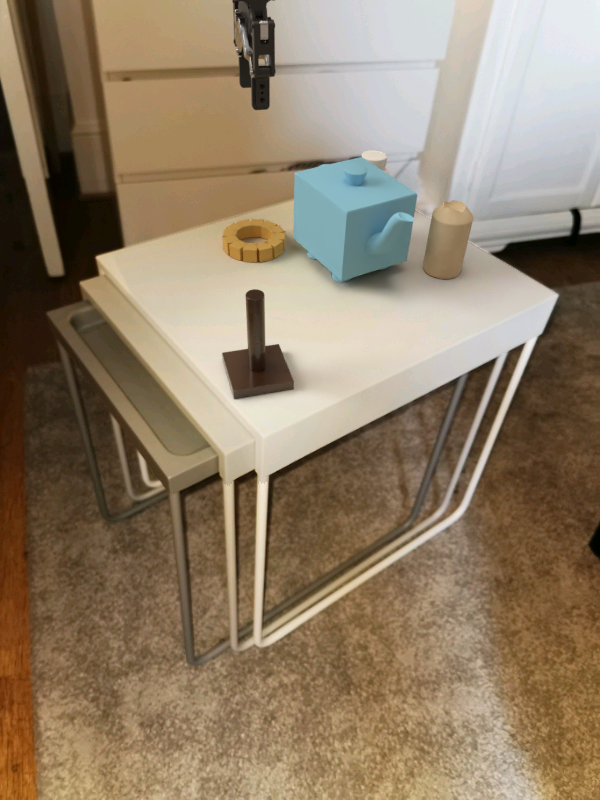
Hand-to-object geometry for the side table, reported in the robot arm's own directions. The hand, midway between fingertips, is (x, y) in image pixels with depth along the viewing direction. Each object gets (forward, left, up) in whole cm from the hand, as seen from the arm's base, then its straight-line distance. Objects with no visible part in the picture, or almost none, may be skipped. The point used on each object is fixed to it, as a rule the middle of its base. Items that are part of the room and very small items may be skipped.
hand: (254, 97), depth 84 cm
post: (-7, -31, -20) cm, 38 cm away
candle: (+24, -15, -21) cm, 35 cm away
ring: (-1, -3, -20) cm, 20 cm away
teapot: (+12, -11, -21) cm, 26 cm away
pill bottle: (+20, +5, -21) cm, 29 cm away
